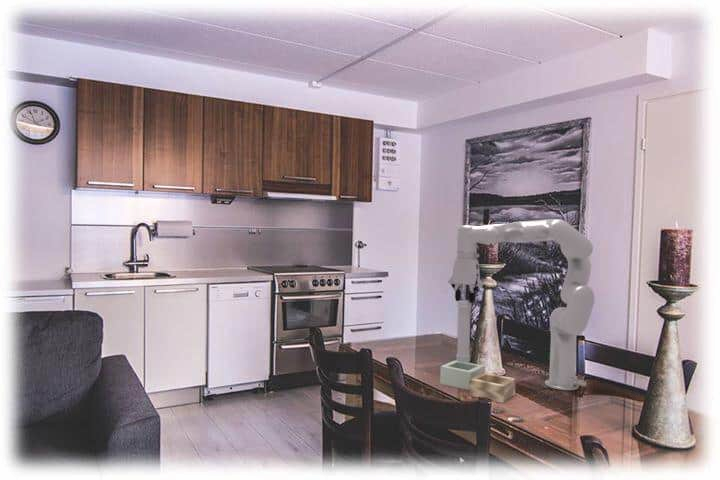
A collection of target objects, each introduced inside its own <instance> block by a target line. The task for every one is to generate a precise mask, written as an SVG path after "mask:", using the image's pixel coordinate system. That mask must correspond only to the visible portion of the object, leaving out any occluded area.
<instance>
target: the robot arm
mask: <svg viewBox="0 0 720 480" xmlns="http://www.w3.org/2000/svg"><path fill="white" fill-rule="evenodd" d="M456 240H457V242H456V243H457V245H456V258H455V260H454V262H453V268H452V276H451V277H450V278H449V280H448V281H447V283H448V284H449V285H450V286H451V287H452V289H453V290H454V292H455V294H454V299H455V301H456V302H458V301H459V300H462V291H461V290H460V289H461V287H462V285H466V286H469V291H470V292H469V293H468V295H469V297H468V300H469V303H474V302H475V301H476V292H478V290H480V288H482V287H484V283H483V282H482V280H481V279H480V278H481V276H480V275H481V274H480V264H479V260H478V259H477V258H480V254H479V253H477V252H478V251H477V243H478V244H482V245H483V244H484V245H492V244H494V243H495V244H496V243H513V244H514V243H517V244H519V243H520V244H521V243H533V242H534V243H535V242H548V241H555V242H556V243H557V244H558V245H560V251H561V253H562V254H563V255H564V257H565V258H566V261H567V272H566V276H565V278H564V282H563V284H562V287H561V290H560V295H559V296H560V299H561V300H562V302H563V303H564V304H566V306H565V307H563V306H559V307H556V308H554V309H553V311H552V312H551V313H550V316H549V329H550V346H549V347H550V352H549V373H548V374H549V377H548V379H546V380H544V384H545V386H546V387H549V388H552V389H554V390H559V391H576V390H578V389H579V386H581V387H584V388H585V387H586V385H587V382H586V381H585V380H583V379H578V376H577V375H576V356H577V336H579V335H582V333H583V332H584V331H585V330H586V328H587V326H588V323H589V320H590V317H591V313H592V311H593V308H594V304H595V293H594V291H593V288H592V287H590V286H589V280H590V277H591V272H592V265H591V264H592V263H591V259H590V257H591V255H592V254H593V252H594V251H593V250H594V248H593V247H594V246H593V243H592V242H591V240H590V239H588V237H587V236H585V235H584V234H583V233H581V232H580V231H579V230H578V229H576V228H575V227H573V225H571V224H570V223H568V222H567V221H566V220H564V219H561V218H553V219H552V218H551V219H537V220H535V219H534V220H523V221H522V220H520V221H514V222H508V223H497V224H486V225H485V224H484V225H472V224H469V225H468V224H461V225H458V228H457V239H456ZM458 287H459V288H460V289H459V288H458Z"/></svg>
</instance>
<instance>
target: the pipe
mask: <svg viewBox="0 0 720 480" xmlns="http://www.w3.org/2000/svg"><path fill="white" fill-rule="evenodd" d="M458 288H459V287H458ZM459 289H460V291H461V293H462V295H463V298H464V299H461V300H459V301H457V307H458V312H457V313H458V319H457V321H458V322H457V348H456V350H457V353H456V354H455V356H456V359H455V360H457V361H458V362H464V363H466V362H467V363H470V361H471V360H470V359H471V354H470V343H471V342H470V341H471V340H470V337H471V312H472V311H471V308H473V306H472V303H473V302H472V303H469V299H466V297H465V294H464V291H463V290H462V289H461V287H460V288H459Z"/></svg>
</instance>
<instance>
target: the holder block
mask: <svg viewBox="0 0 720 480" xmlns="http://www.w3.org/2000/svg"><path fill="white" fill-rule="evenodd" d="M485 367H486V366H485V365H482V364H476V363H472V362H466V363H464V362H458V361H457V360H456V359H455V360H452V361H450V362H448V363H445V364H442V365H440V375H439V376H440V377H439V384H440V385H442V386H443V385H444V386H448V387H454V388H457V389H462V390H466V391H469V379H471V378H473V377H475V376H477V375H479V374H481V373H483V372H484V373H485Z"/></svg>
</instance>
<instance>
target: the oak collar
mask: <svg viewBox="0 0 720 480" xmlns="http://www.w3.org/2000/svg"><path fill="white" fill-rule="evenodd" d="M516 380H517V379H516V378H513V377H509V376H505V375H498V374H493V373H489V372H485V371H484V372H483V373H481V374H479V375H477V376H475V377H473V378H471V379H469V390H468V396H469V397H474V398H479V397H484V398H490V399H491V400H492V401H491V400H490V401H491V402H496V403H499V404H503V403H504V402H507V401H508V400H509V399H510V398H512V397H513V396H515V395H516V383H517V382H516ZM479 399H480V398H479Z"/></svg>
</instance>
